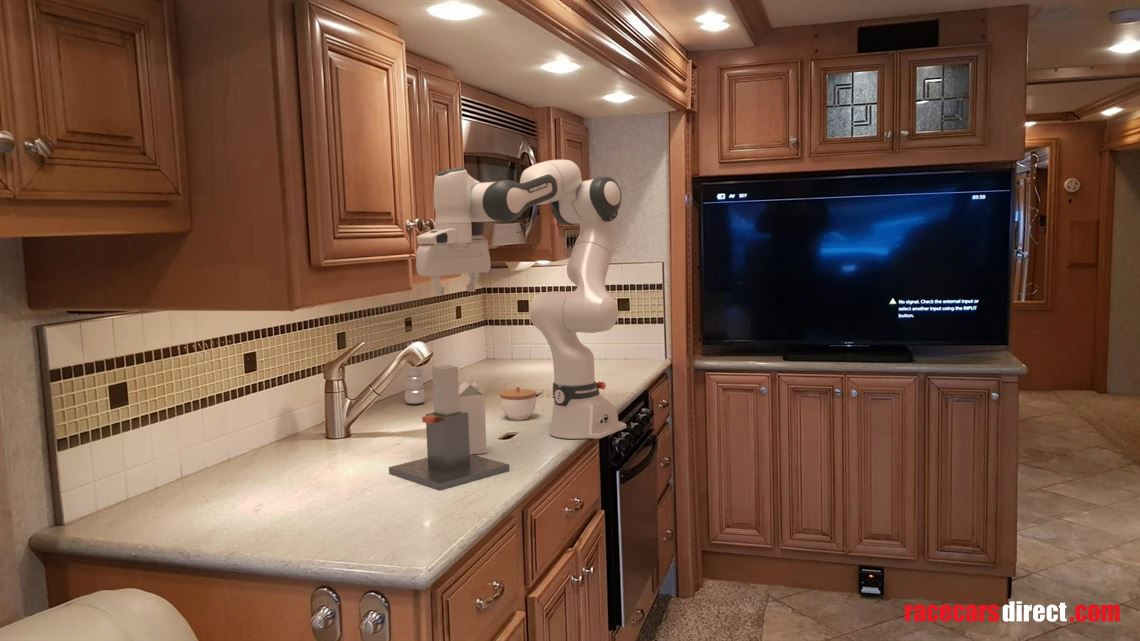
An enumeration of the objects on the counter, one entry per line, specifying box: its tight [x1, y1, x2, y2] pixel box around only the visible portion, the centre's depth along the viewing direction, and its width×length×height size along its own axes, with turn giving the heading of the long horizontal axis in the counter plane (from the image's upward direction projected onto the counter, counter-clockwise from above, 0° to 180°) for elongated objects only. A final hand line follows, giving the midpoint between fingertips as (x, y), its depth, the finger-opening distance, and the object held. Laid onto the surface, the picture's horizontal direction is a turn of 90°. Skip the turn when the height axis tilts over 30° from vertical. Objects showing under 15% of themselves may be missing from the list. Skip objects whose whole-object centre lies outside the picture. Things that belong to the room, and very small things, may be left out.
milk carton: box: [459, 375, 488, 455], centre depth 222 cm, size 7×7×19 cm
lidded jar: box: [499, 386, 537, 421], centre depth 261 cm, size 11×11×9 cm
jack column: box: [431, 364, 460, 417], centre depth 203 cm, size 4×4×18 cm
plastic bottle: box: [404, 342, 426, 405], centre depth 284 cm, size 6×7×20 cm
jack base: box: [388, 411, 510, 491], centre depth 204 cm, size 20×20×14 cm
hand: (455, 293), depth 213 cm, fingers open, 8 cm apart
